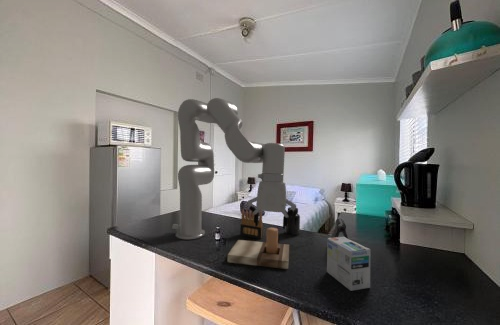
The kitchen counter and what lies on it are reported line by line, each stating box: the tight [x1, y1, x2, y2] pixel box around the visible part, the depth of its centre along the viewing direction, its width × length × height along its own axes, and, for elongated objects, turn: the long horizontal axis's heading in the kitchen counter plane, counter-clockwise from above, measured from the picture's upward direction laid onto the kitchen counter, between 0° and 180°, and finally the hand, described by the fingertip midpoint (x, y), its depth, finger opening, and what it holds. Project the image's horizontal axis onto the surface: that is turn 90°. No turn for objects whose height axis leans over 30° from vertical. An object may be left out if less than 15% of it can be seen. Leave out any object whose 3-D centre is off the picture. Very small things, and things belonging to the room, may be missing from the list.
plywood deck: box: [227, 239, 290, 270], centre depth 78 cm, size 20×14×2 cm
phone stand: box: [330, 218, 349, 239], centre depth 83 cm, size 9×6×12 cm, turn 73°
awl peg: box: [265, 227, 279, 255], centre depth 77 cm, size 4×4×10 cm
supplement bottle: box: [284, 206, 301, 237], centre depth 103 cm, size 7×7×12 cm
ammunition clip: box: [239, 208, 264, 240], centre depth 98 cm, size 11×2×12 cm, turn 63°
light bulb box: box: [326, 236, 371, 292], centre depth 64 cm, size 11×7×11 cm, turn 17°
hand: (270, 226), depth 77 cm, fingers open, 9 cm apart
